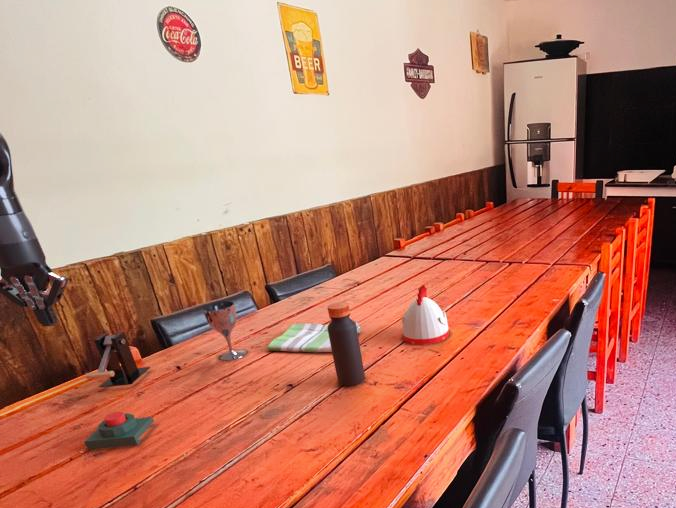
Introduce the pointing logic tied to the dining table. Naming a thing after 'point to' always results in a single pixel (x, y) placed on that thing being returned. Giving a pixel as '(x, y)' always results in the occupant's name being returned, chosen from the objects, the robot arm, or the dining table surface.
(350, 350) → the bottle
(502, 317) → the dining table surface
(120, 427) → the button housing
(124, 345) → the black lever stand
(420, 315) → the kitchen timer
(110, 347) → the lever handle
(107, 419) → the button
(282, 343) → the dish towel
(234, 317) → the silver goblet
